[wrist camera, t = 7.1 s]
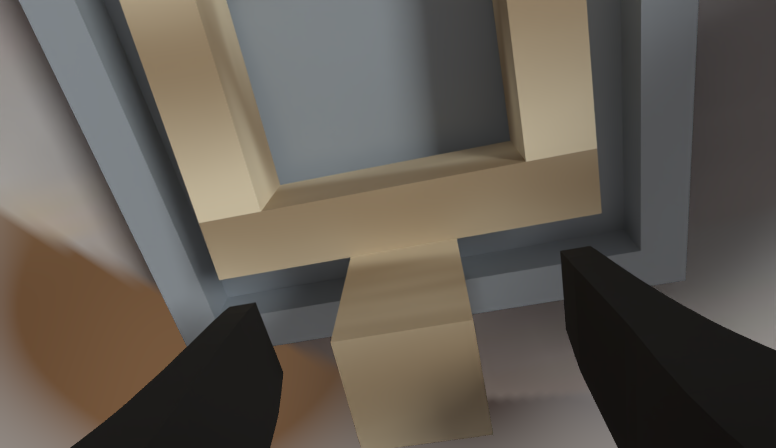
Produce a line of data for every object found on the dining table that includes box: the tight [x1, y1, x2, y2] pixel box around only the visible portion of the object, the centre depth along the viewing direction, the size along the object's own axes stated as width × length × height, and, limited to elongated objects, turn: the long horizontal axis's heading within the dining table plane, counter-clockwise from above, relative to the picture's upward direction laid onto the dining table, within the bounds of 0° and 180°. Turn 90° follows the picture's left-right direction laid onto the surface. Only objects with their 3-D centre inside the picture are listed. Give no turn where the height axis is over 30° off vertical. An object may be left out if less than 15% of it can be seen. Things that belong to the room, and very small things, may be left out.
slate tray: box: [19, 0, 699, 346], centre depth 13 cm, size 14×14×2 cm
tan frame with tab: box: [119, 0, 602, 448], centre depth 11 cm, size 12×9×6 cm
